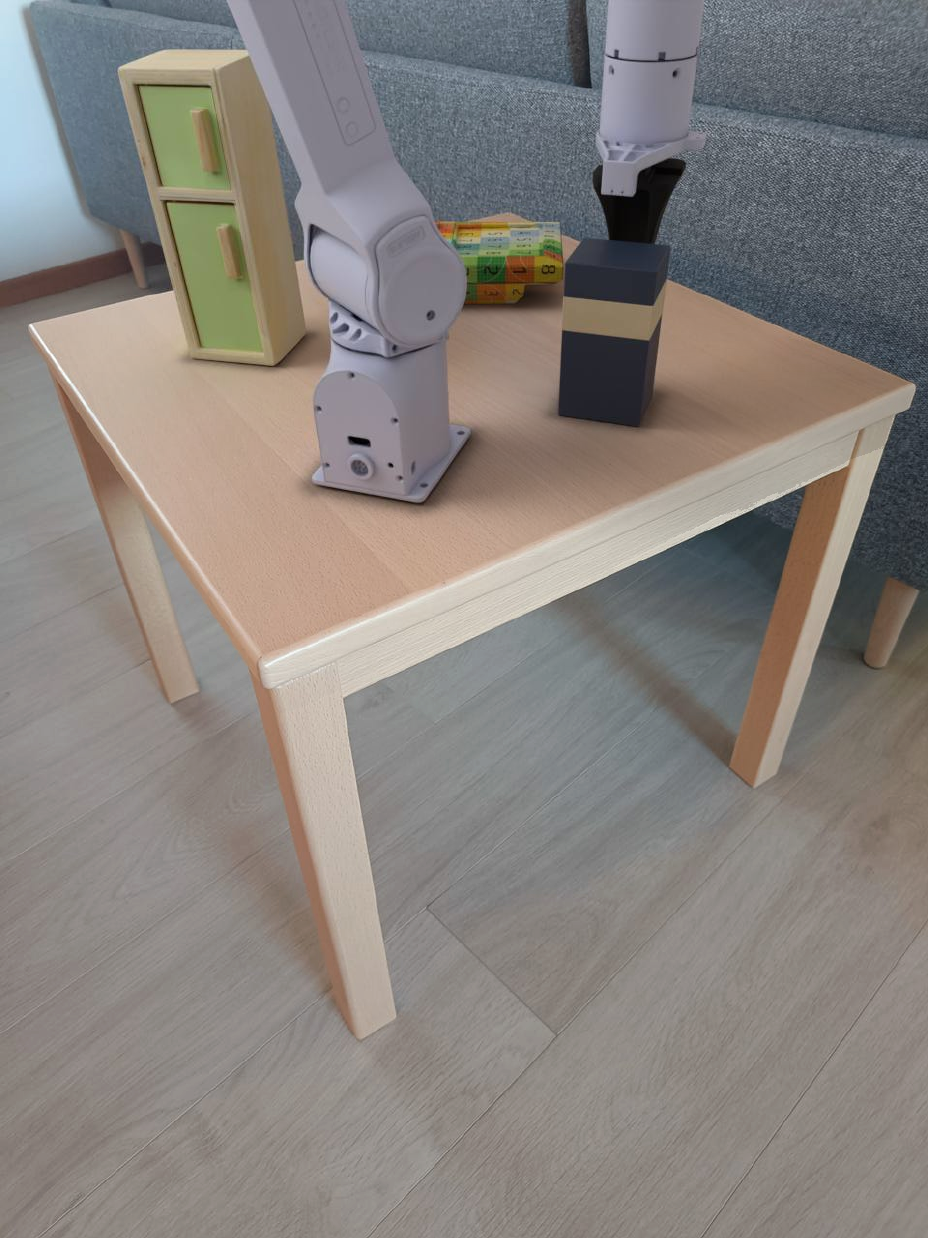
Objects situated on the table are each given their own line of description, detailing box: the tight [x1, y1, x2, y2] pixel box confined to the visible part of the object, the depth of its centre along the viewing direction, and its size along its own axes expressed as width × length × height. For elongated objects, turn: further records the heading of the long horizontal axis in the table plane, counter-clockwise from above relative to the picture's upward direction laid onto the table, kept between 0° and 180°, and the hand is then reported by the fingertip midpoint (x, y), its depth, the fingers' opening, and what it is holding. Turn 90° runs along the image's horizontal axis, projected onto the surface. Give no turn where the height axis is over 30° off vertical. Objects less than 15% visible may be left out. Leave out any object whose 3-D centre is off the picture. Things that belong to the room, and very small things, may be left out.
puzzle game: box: [435, 220, 565, 305], centre depth 83 cm, size 12×5×20 cm
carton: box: [557, 237, 671, 427], centre depth 62 cm, size 5×6×11 cm
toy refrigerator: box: [117, 48, 307, 367], centre depth 68 cm, size 8×7×21 cm
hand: (629, 273), depth 64 cm, fingers closed
